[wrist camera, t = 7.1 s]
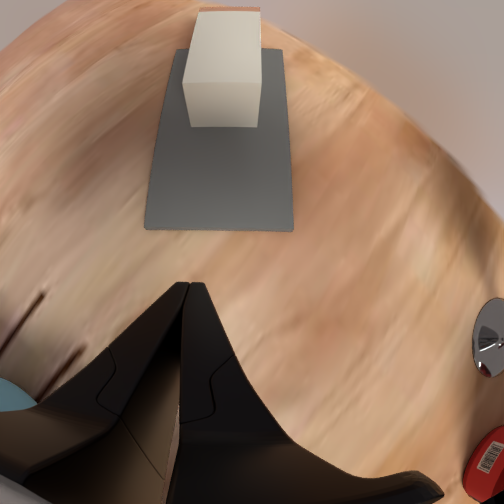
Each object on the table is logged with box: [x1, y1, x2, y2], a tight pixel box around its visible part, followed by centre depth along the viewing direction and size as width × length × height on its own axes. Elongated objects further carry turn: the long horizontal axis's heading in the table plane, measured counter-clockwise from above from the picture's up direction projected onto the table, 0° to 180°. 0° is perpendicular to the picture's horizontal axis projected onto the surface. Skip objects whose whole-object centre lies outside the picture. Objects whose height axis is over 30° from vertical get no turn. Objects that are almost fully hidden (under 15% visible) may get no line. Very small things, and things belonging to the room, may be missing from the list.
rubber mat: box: [144, 48, 294, 232], centre depth 23 cm, size 18×10×1 cm, turn 0°
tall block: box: [182, 7, 262, 127], centre depth 21 cm, size 5×5×10 cm
